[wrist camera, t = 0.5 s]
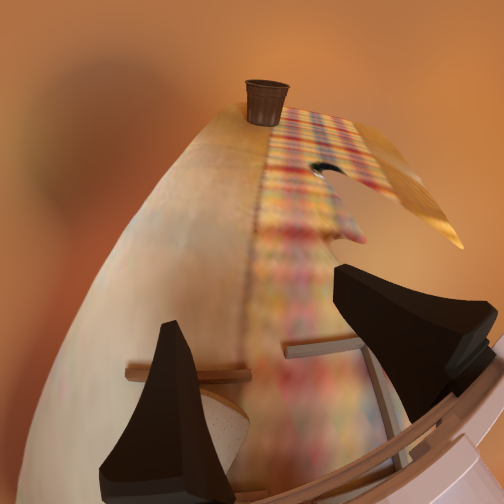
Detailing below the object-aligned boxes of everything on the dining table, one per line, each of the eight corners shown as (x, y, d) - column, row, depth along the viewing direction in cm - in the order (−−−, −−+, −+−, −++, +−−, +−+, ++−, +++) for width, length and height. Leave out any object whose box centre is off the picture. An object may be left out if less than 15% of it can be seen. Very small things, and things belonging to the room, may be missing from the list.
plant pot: (262, 131, 87) (268, 87, 76) (232, 119, 95) (236, 79, 84) (292, 125, 96) (299, 87, 85) (262, 114, 104) (267, 79, 93)
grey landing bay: (403, 475, 19) (410, 474, 18) (313, 508, 17) (317, 509, 16) (365, 340, 33) (369, 335, 32) (284, 351, 31) (286, 346, 30)
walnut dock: (266, 497, 18) (269, 498, 17) (128, 495, 16) (123, 496, 15) (249, 373, 29) (250, 369, 28) (129, 373, 27) (125, 368, 26)
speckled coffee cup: (251, 424, 25) (259, 408, 19) (218, 486, 19) (216, 492, 14) (165, 382, 27) (149, 354, 22) (129, 438, 21) (100, 424, 16)
